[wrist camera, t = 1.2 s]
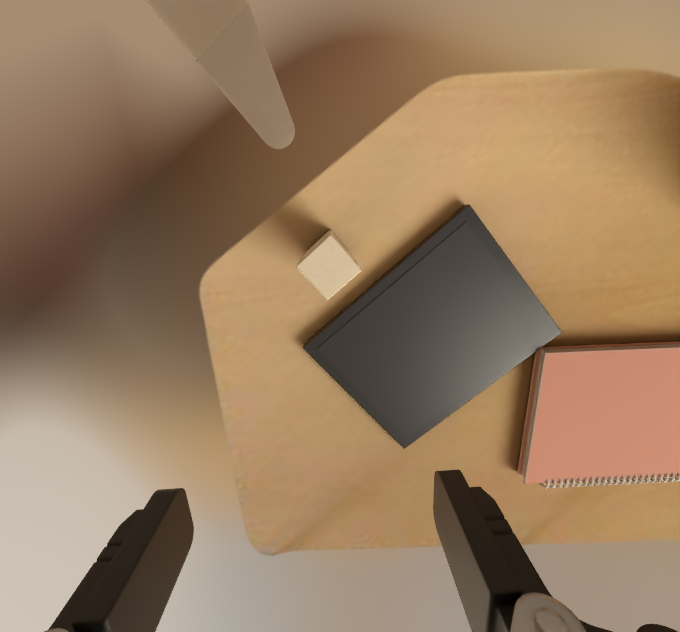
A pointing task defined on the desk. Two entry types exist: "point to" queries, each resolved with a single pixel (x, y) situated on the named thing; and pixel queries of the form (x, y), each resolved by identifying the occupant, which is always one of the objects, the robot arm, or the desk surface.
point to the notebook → (603, 415)
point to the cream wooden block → (328, 265)
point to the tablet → (434, 330)
